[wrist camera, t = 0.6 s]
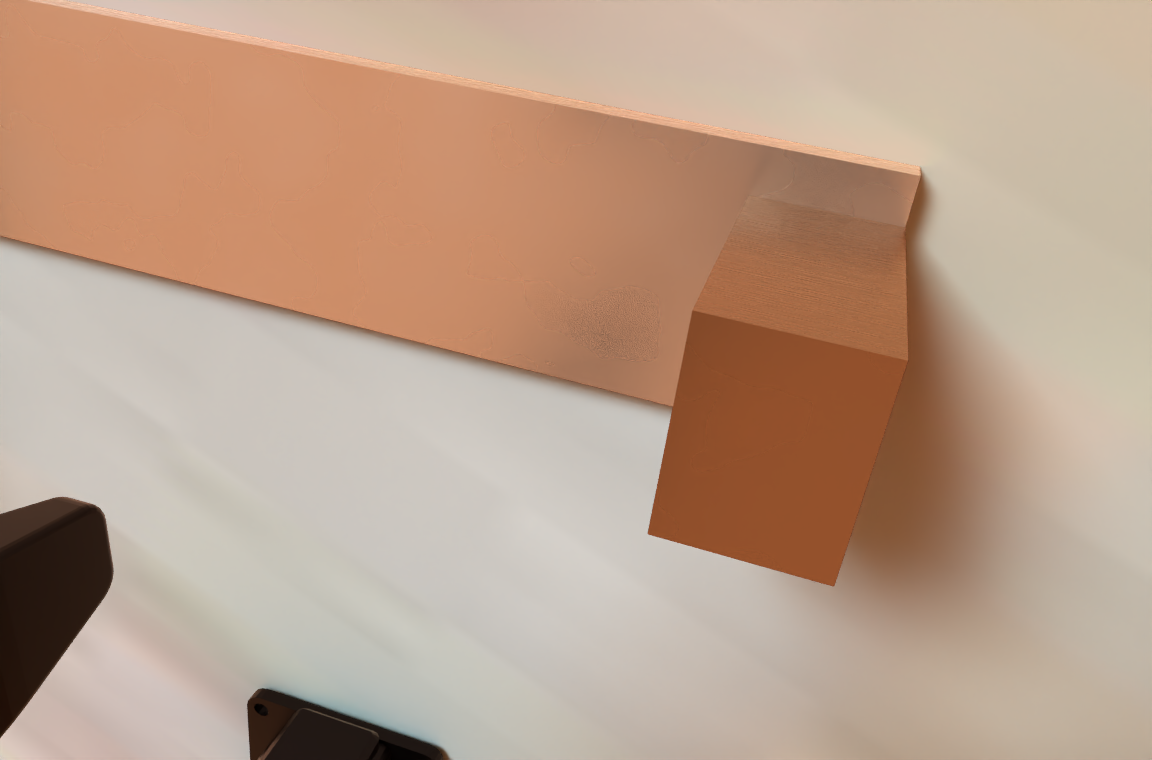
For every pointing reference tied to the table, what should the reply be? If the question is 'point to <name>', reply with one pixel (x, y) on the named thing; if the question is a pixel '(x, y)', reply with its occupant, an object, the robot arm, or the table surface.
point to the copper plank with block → (495, 242)
